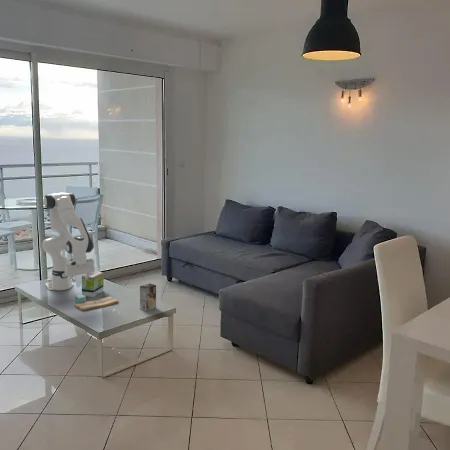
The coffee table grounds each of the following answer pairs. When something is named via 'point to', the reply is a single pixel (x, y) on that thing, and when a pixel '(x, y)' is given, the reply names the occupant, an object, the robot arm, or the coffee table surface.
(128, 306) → the coffee table surface
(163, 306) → the coffee table surface
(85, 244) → the robot arm
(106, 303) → the board
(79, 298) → the block
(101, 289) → the tea box
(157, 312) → the coffee table surface
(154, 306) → the coffee box
